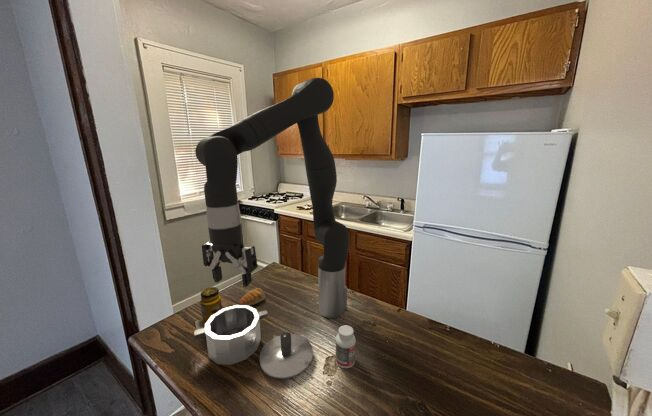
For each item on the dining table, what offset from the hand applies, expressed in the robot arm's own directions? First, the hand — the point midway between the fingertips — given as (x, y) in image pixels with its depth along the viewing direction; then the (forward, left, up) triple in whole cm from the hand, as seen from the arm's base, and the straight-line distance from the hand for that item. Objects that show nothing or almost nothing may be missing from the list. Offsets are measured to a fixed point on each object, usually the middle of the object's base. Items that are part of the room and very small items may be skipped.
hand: (232, 282), depth 64 cm
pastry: (-9, -25, -23) cm, 36 cm away
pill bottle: (-26, +14, -23) cm, 37 cm away
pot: (+1, -6, -23) cm, 23 cm away
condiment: (+7, -19, -23) cm, 30 cm away
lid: (-11, +6, -23) cm, 27 cm away
